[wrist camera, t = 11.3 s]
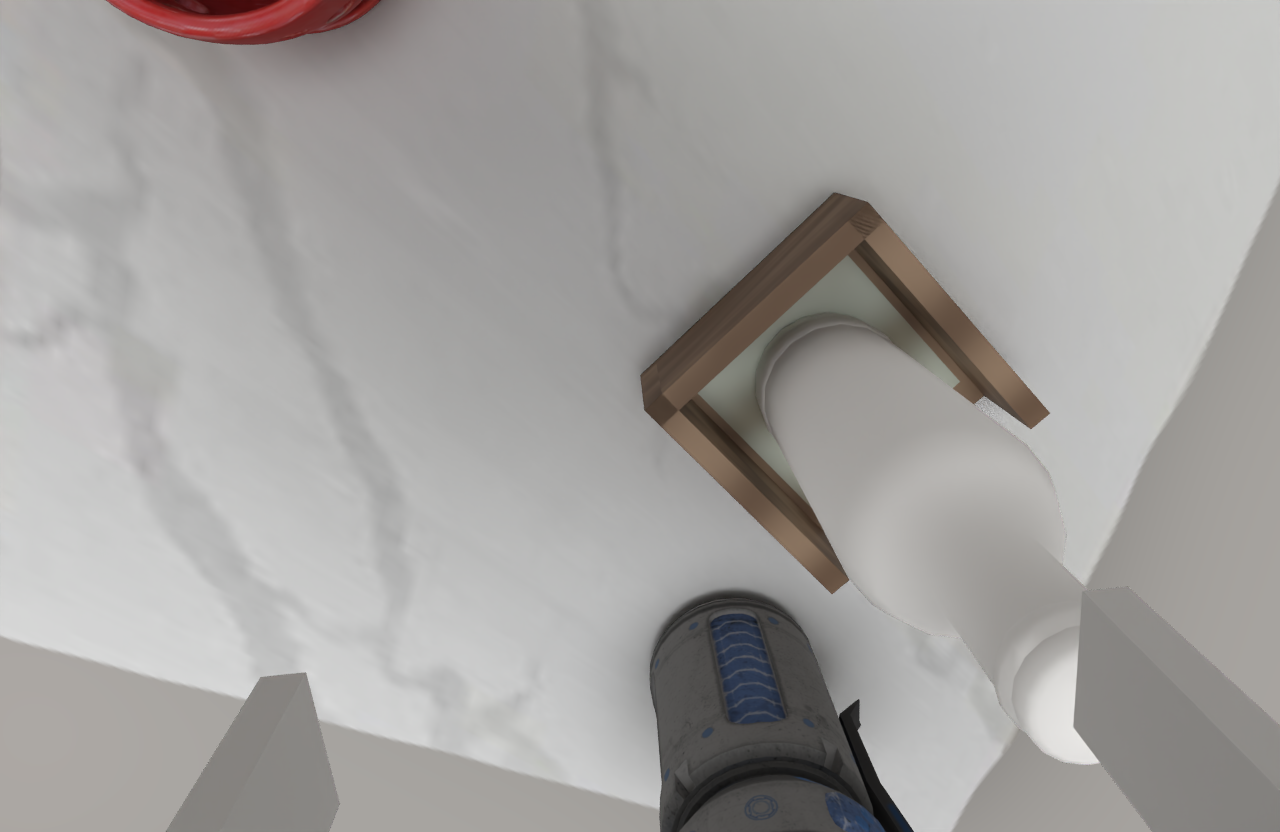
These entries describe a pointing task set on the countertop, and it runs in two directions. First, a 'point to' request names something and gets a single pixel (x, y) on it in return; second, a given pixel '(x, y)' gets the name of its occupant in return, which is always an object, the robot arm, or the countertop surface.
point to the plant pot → (244, 17)
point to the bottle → (932, 511)
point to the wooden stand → (780, 295)
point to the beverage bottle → (757, 731)
